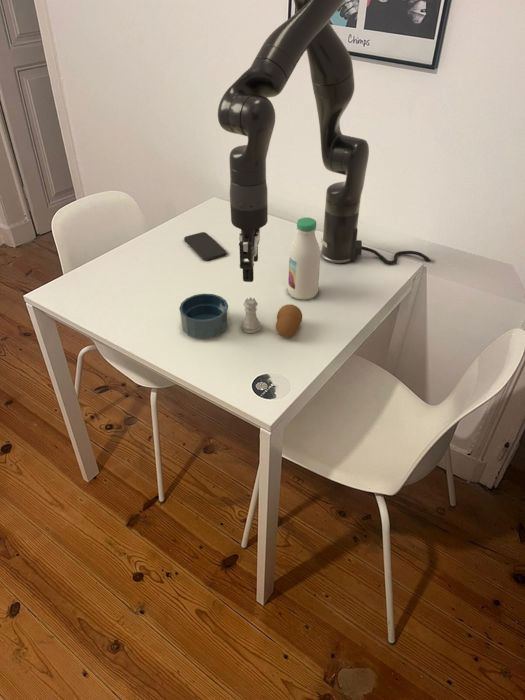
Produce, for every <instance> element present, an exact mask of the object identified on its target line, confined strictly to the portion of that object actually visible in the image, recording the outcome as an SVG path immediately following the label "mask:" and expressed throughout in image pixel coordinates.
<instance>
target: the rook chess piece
mask: <svg viewBox="0 0 525 700" xmlns="http://www.w3.org/2000/svg"><path fill="white" fill-rule="evenodd" d="M258 304H259V303H258V302H257V299H256V298H254V297H253V298H252V297H249V298H248V297H246V298H245V300H244V302H243V307H244V312H245V313H244V314H245V315H244V318H243V320H242V322H241V329H242V331H243V332H244V333H247V334H256V333H257V332H259V330H260V329H261V321H260V320H259V318H258V316H257V306H258Z"/></svg>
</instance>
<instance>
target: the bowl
mask: <svg viewBox="0 0 525 700" xmlns="http://www.w3.org/2000/svg"><path fill="white" fill-rule="evenodd" d="M178 310H179V316H180V325H181V329H182V331H183V332H184V333H185V334H186V335H187V336H190V337H193V338H196V339H210V338H215V337H218V336H220V335H221V334H223V333H225V331H226V330H227V329H228V328H229V326H230V313H229V304H228V302H227V300H226V299H225V298H224V297H222V296H220V295H217V294H214V293H197V294H194V295H191V296H189V297H186V298H185V299H184V300H183V301H182V302H180V305H179V308H178Z"/></svg>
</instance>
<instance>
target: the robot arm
mask: <svg viewBox="0 0 525 700" xmlns="http://www.w3.org/2000/svg"><path fill="white" fill-rule="evenodd" d="M345 1H346V0H293V2H294V6H295V10H296V12H295V13H294V14H293V15H292V16H291V17H289V18H288V19H287V20H286V21H284V22H283V23H282V24H280V25H279V26H278V27H276V28H275V29H274V30H273V31H272V32H271V33H270V34H269V35H268V36H267V38H266V39H265V41H264V42H263V44H262V45H261V47H260V48H259V51H258V52H257V54H256V55H255V58H254V60H253V61H252V64H251V65H250V67H248V69H247V70H245V71H244V72H243V73H242V74H241V75H240V76H239V77H238V79H236V80H235V81H234V82H233V83H232V85H230V86H229V87H228V88H227V90H226V91H225V92H224V93H223V95H222V97H221V99H220V101H219V103H218V107H217V120H218V123H219V125H220V127H221V128H222V130H224V131H226V132H227V133H231V134H234V135H239V136H243V137H247V143H246V144H243V145H242V144H241V145H237V146H235V147H234V148H233V149H231V151H230V152H229V179H230V180H229V182H230V183H229V204H230V205H229V206H230V222H231V224H232V226H234V227H235V228H237V229H239V230H240V233H239V235H238V240H239V243H238V246H239V269H242V281H243V282H245V283H253V282H254V278H255V277H254V267H255V262H258V261H259V244H260V240H261V229H262V228H264V227H265V226H266V225H267V223H268V216H269V215H268V214H269V213H268V184H267V157H268V152H269V148H270V143H271V139H272V136H273V132H274V129H275V125H276V110H275V108H274V105H273V103H272V101H271V100H270V98H275V97H277V96H279V95H280V94H281V93H282V92H283V90H284V88H285V86H286V85H287V83H288V81H289V80H290V78H291V76H292V74H293V72H294V70H295V69H296V66H297V65H298V64H299V61H300V60H301V58H302V57H303V55H304V53H305V52H306V54H307V58H308V66H309V74H310V80H311V84H312V91H313V95H314V100H315V106H316V112H317V118H318V125H319V135H320V151H321V152H320V153H321V160H322V163H323V166H324V168H325V169H326V170H327V171H329V172H332V173H335V174H339V175H343V176H345V181H338V182H334V183H332V184H330V185H329V186H328V187H327V188H326V191H325V205H324V216H323V217H324V218H323V229H322V238H320V244H321V250H320V257H321V258H322V259H323V260H324V261H326V262H328V263H333V264H346V263H351V262H355V258H356V257H355V256H362V253H363V251H365V252H368V253H372V254H373V255H375V256H376V257H377V258H379V259H380V260H382V261H383V263H384V264H386V265H394V264H396V263H397V261H398V256H402V255H414V256H418V257H420V258H422V259H423V260H425V261H426V262H428V263H431V259H430V258H429V256H427V255H426V254H424V253H422V252H419V251H416V250H399V251H397V252H395V253H394V256H393V259H392V260H388V259H387V258H385V257H384V256H383V255H382V254H381V253H379V252H378V251H377V250H375V249H373V248H370V247H367V246H363V242H362V240H359V239H358V232H359V231H358V223H359V216H360V207H361V199H362V194H363V190H364V186H365V179H366V174H367V168H368V163H369V157H370V147H369V143H368V141H367V140H366V139H363V138H360V137H355V136H350V135H346V134H343V133H342V131H341V118H342V116H343V114H344V113H345V111H346V109H347V108H348V106H349V104H350V102H351V101H352V99H353V96H354V94H355V93H354V92H355V86H356V85H355V74H354V67H353V65H354V64H353V60H352V57H351V54H350V52H349V50H348V49H347V47H346V46H345V44H344V42H343V41H342V39H341V38H340V36H339V35H338V34H337V32H336V31H335V29H334V28H333V26H332V25H331V23H330V20H331V19H332V17H333V16H335V14H336V13H337V11H338V10H340V8H341V6H342V5H343V4H344V2H345Z"/></svg>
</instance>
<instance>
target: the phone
mask: <svg viewBox="0 0 525 700" xmlns="http://www.w3.org/2000/svg"><path fill="white" fill-rule="evenodd" d="M183 241H184V242H185V243H186V244H187V245H188V246H189V247H190V248H191V249H192V250H193V251H194V252H195V253H196V254H197V255H198V256H199V257H200V258H201V259H202V260H203V261H211V260H213V259H217V258H221V257H224V256H226V255H227V250H225V248H223V247H222V246H221V245H220V244H219V243H218V242H217V241H216V240H215V239H214V238H213V237H211V236H210V235H209V234H208V233H207V232H205V231H202V232H201V231H200V232H197V233H193V234H190V235H189V234H188V235H187V236H184V237H183Z"/></svg>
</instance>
